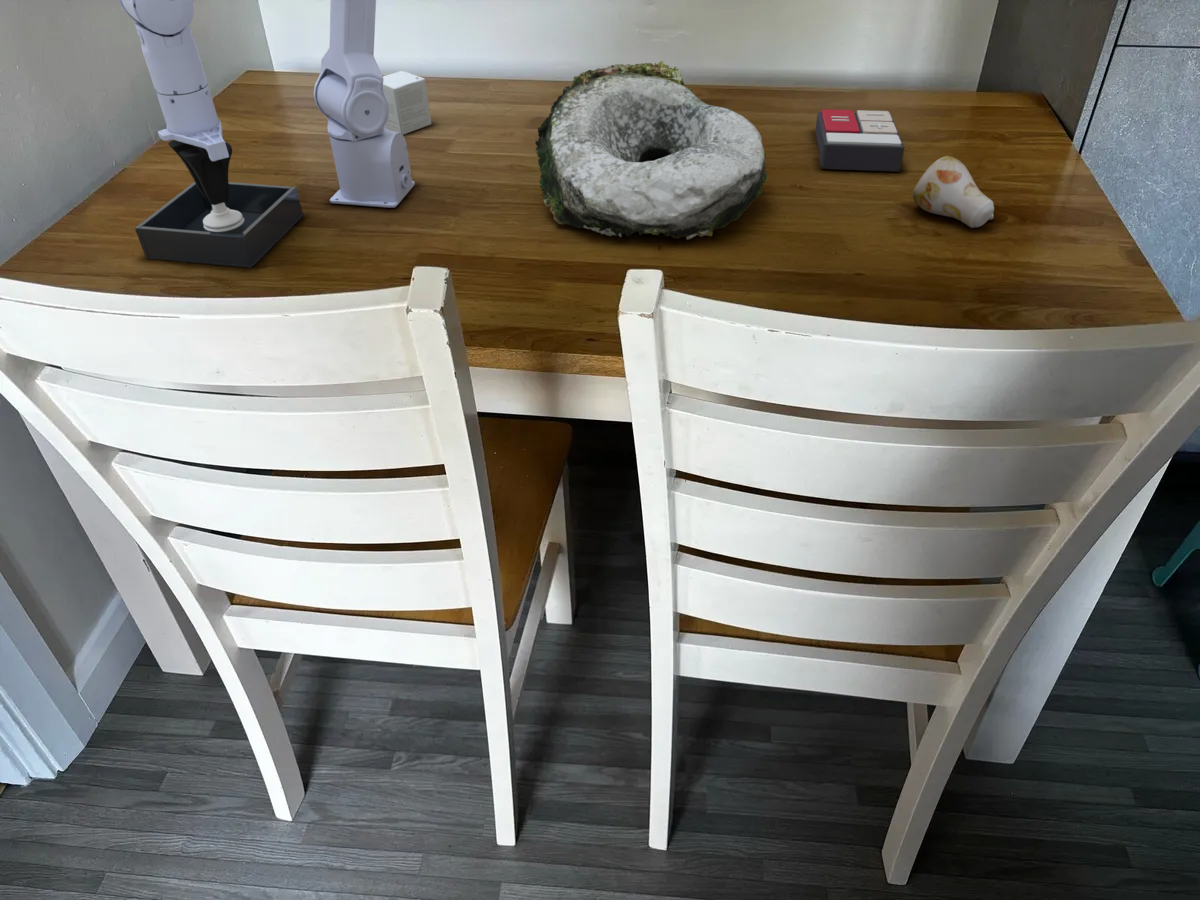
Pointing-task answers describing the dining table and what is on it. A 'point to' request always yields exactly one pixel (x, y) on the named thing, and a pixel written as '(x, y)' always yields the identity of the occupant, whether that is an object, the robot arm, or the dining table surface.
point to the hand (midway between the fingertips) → (216, 198)
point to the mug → (952, 193)
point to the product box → (406, 102)
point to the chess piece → (222, 219)
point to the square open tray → (186, 239)
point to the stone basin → (646, 155)
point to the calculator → (858, 140)
